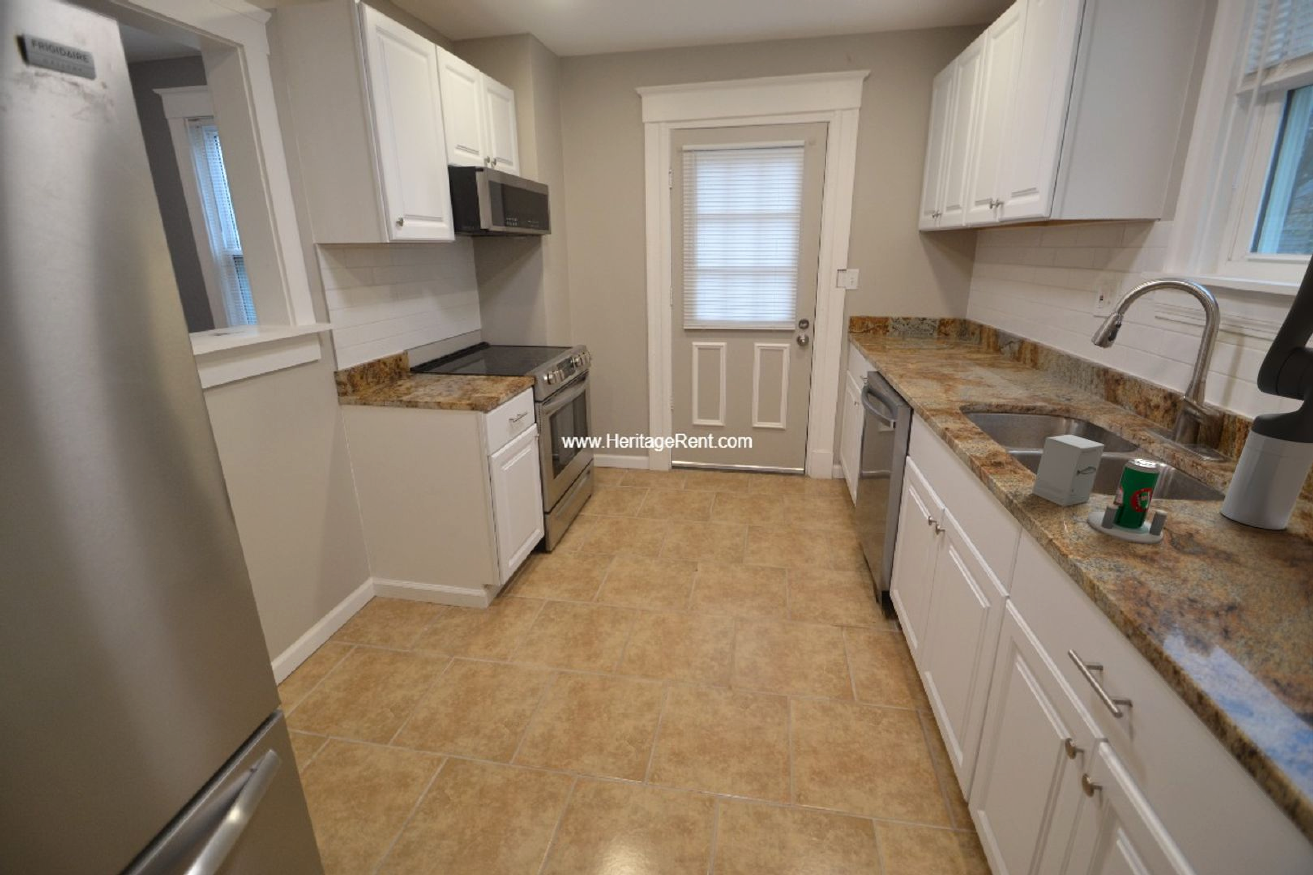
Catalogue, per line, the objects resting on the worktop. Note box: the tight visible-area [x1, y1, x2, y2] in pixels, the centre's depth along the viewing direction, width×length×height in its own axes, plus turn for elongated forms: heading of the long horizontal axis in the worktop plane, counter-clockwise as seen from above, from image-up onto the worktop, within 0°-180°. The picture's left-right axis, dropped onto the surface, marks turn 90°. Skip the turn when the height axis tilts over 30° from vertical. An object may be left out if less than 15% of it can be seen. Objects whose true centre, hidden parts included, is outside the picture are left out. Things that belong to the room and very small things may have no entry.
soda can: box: [1112, 458, 1161, 529], centre depth 107 cm, size 5×5×12 cm
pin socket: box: [1087, 503, 1169, 544], centre depth 108 cm, size 11×11×5 cm
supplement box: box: [1031, 434, 1105, 507], centre depth 120 cm, size 7×7×13 cm
